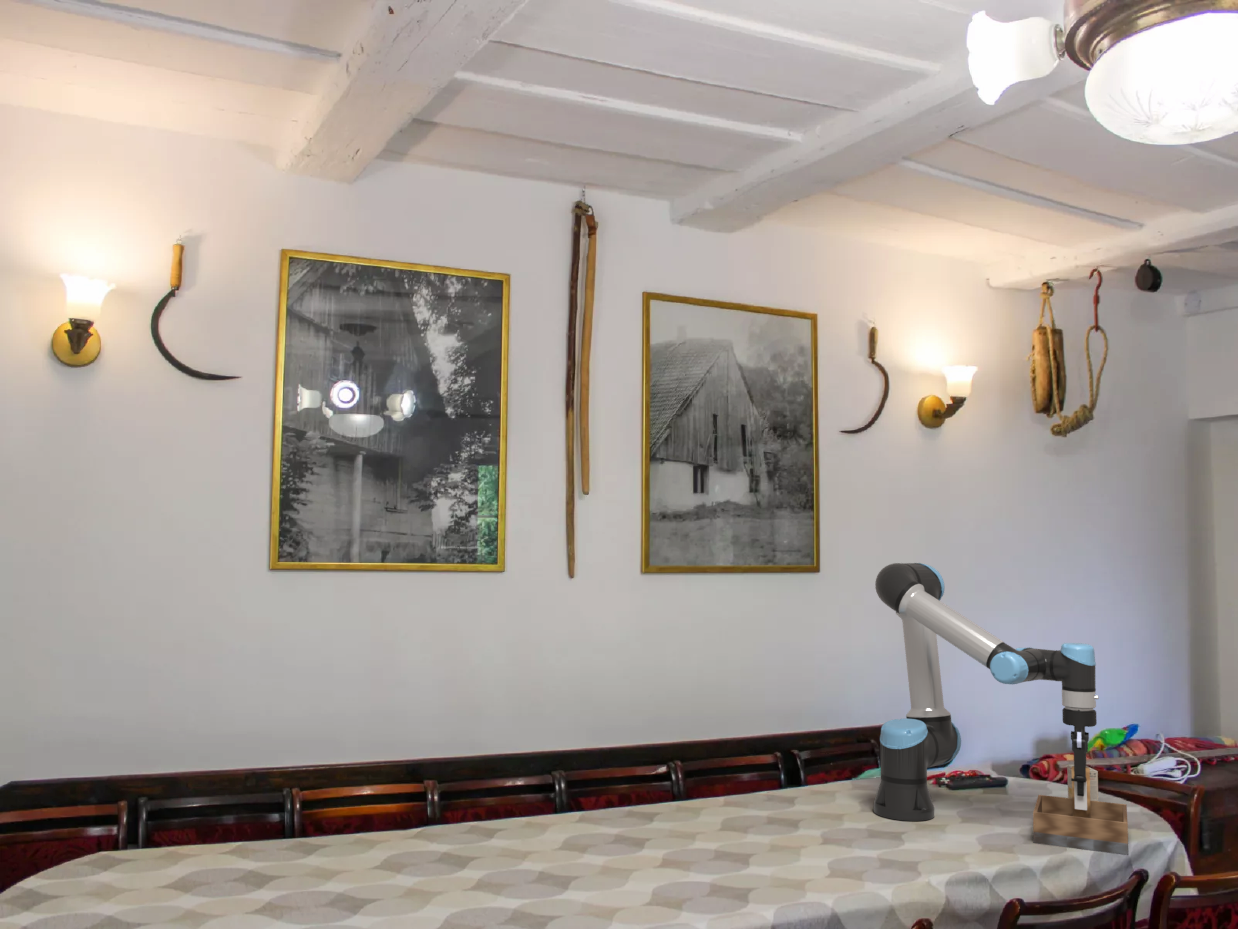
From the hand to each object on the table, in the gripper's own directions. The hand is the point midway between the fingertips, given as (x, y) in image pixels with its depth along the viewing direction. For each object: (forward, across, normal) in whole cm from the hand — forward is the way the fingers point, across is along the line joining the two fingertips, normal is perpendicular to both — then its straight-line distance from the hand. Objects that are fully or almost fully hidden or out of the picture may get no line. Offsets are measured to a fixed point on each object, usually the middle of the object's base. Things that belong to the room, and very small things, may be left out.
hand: (1081, 807), depth 250 cm
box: (+7, 0, 0) cm, 7 cm away
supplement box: (+8, +20, 0) cm, 21 cm away
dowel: (+5, 0, 0) cm, 5 cm away
